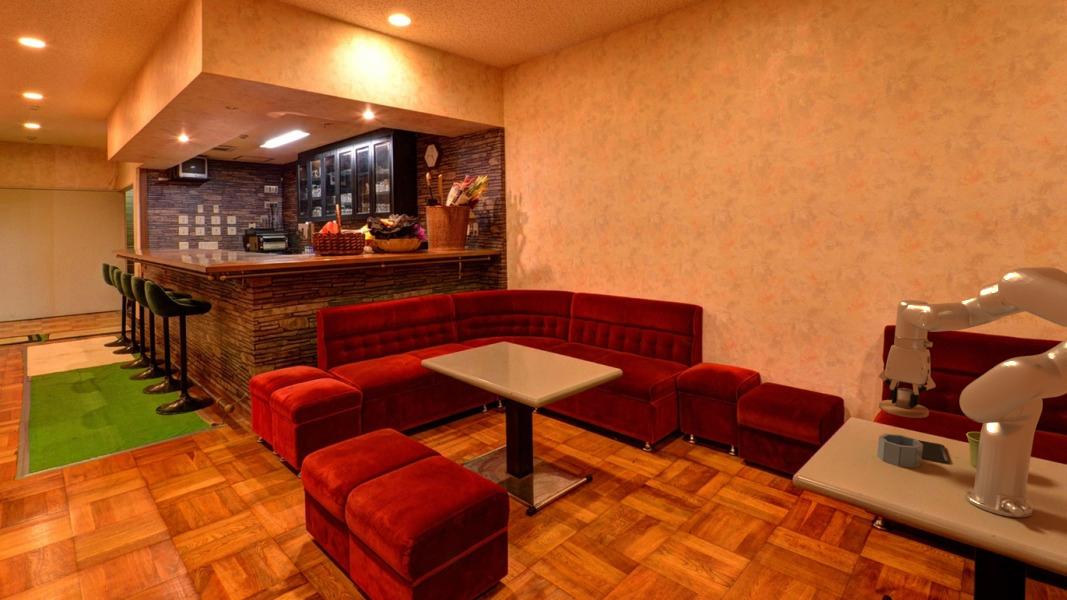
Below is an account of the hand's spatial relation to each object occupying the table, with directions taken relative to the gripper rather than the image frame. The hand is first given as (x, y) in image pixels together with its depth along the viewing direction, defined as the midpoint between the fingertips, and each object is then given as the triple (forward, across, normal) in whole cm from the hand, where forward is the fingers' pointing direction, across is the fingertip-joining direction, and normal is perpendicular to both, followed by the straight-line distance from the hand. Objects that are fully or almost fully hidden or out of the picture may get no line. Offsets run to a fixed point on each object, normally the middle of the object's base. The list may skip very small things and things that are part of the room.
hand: (903, 404), depth 156 cm
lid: (+2, 0, 0) cm, 2 cm away
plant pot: (+17, -17, -14) cm, 28 cm away
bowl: (+17, 0, 0) cm, 17 cm away
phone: (+18, -4, -14) cm, 23 cm away
